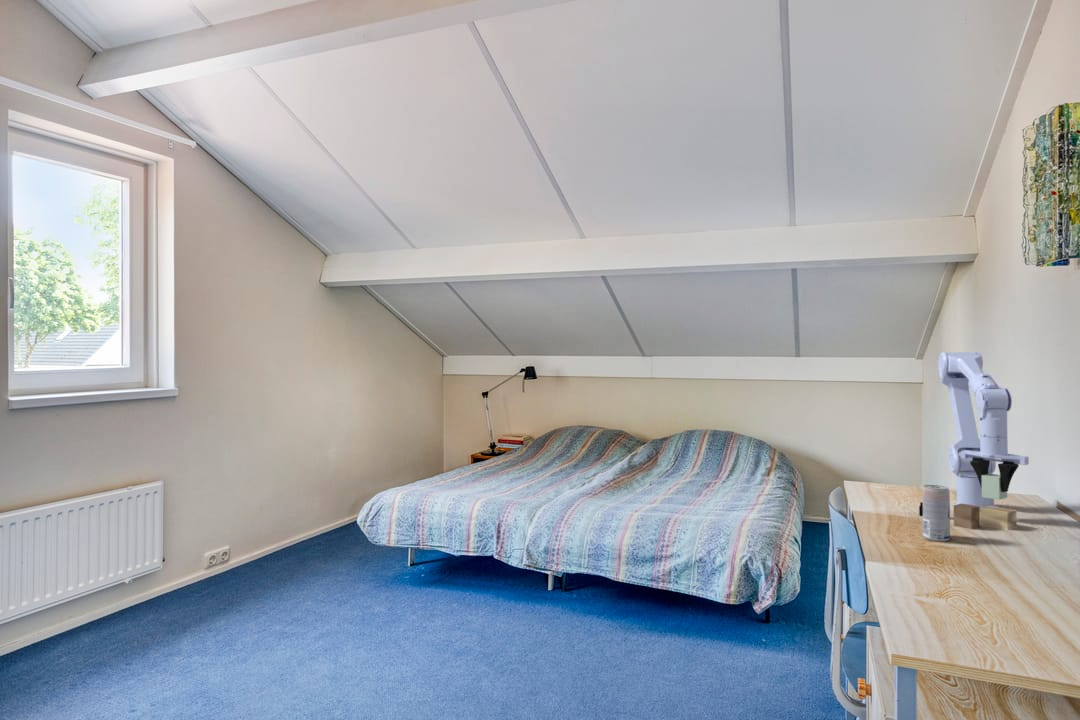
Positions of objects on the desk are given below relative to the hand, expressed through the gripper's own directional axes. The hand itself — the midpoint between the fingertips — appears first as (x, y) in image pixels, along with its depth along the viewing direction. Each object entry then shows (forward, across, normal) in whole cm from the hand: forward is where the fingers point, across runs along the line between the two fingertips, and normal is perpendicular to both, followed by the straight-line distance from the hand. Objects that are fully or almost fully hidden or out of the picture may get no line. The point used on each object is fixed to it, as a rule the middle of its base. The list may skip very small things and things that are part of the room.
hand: (994, 489), depth 168 cm
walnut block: (+8, 0, -12) cm, 15 cm away
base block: (+8, +4, -6) cm, 10 cm away
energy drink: (+8, 0, -28) cm, 29 cm away
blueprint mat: (+8, +2, -4) cm, 9 cm away
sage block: (+2, 0, 0) cm, 2 cm away
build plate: (+9, -10, -10) cm, 17 cm away
